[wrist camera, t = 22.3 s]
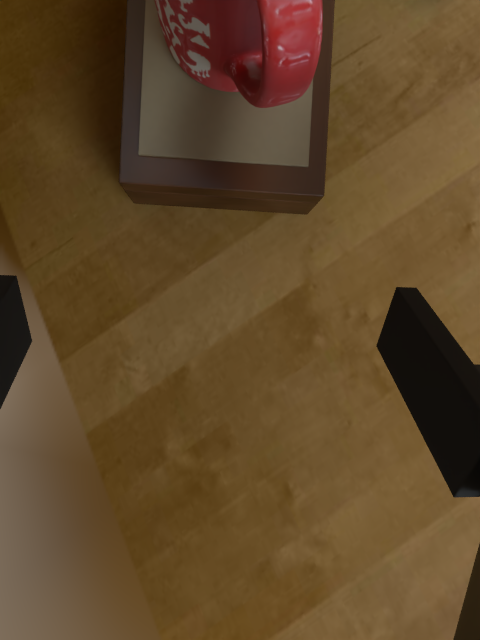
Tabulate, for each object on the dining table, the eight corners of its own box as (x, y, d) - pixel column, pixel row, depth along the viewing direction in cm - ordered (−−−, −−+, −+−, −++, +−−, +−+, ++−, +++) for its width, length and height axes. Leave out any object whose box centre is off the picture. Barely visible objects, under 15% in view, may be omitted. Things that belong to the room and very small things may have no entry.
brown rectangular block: (133, 203, 28) (117, 181, 23) (144, -22, 28) (130, -90, 23) (307, 214, 29) (325, 195, 24) (319, -6, 28) (339, -69, 24)
